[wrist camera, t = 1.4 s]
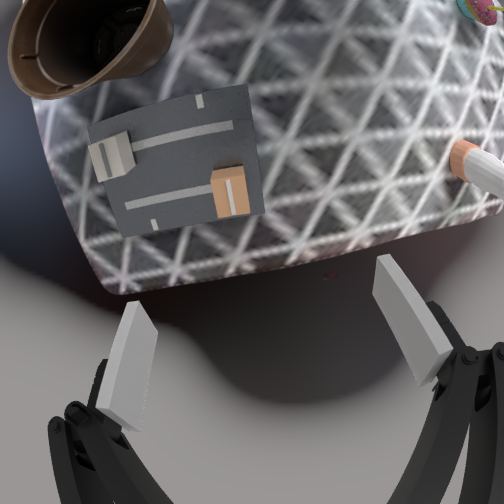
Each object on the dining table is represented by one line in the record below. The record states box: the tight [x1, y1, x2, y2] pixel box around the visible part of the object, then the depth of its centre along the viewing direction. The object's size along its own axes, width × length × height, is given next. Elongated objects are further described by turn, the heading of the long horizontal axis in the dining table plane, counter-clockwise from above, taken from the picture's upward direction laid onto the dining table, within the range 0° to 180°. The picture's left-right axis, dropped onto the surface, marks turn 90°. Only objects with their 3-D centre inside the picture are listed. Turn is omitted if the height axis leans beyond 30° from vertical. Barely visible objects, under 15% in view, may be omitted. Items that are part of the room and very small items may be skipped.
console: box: [87, 84, 265, 238], centre depth 34 cm, size 18×22×2 cm
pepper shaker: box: [450, 140, 504, 200], centre depth 28 cm, size 7×7×19 cm
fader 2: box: [210, 166, 250, 218], centre depth 33 cm, size 5×4×4 cm
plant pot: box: [8, 0, 174, 100], centre depth 17 cm, size 16×16×16 cm
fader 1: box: [88, 131, 136, 182], centre depth 29 cm, size 5×4×4 cm
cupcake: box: [457, 0, 504, 26], centre depth 13 cm, size 9×8×12 cm
